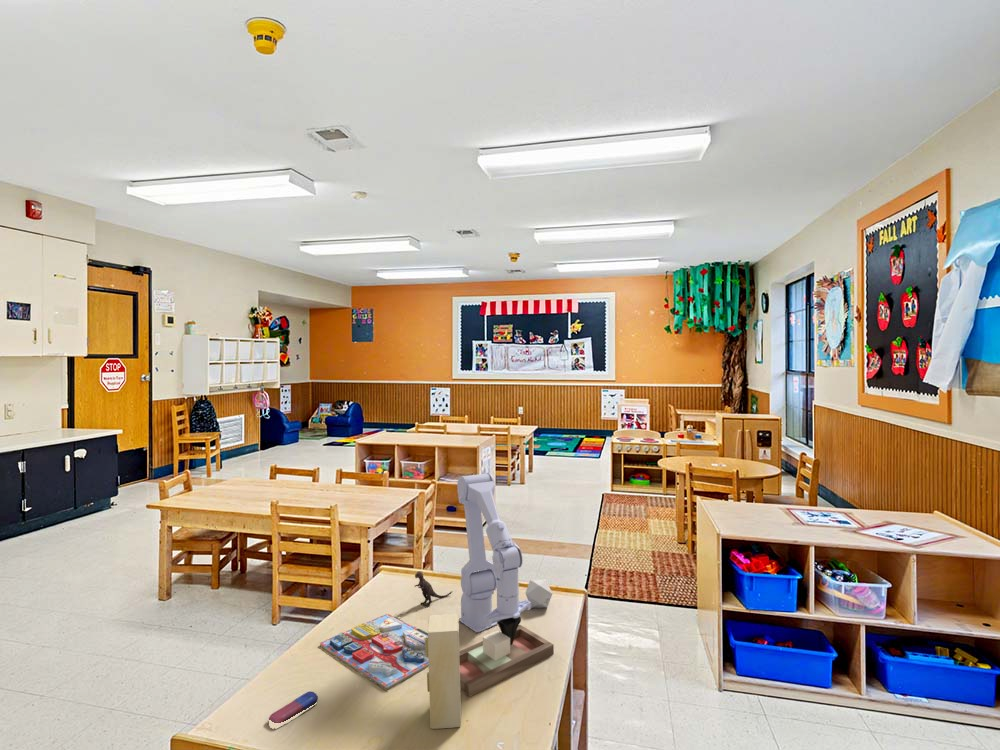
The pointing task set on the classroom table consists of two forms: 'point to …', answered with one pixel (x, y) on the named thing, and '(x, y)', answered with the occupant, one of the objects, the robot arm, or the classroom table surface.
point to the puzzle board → (382, 650)
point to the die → (538, 593)
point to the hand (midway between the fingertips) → (508, 643)
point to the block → (496, 645)
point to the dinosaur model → (426, 589)
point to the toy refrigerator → (443, 671)
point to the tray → (500, 661)
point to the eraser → (294, 707)
